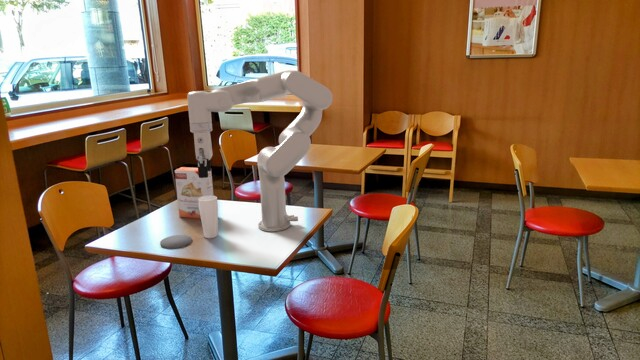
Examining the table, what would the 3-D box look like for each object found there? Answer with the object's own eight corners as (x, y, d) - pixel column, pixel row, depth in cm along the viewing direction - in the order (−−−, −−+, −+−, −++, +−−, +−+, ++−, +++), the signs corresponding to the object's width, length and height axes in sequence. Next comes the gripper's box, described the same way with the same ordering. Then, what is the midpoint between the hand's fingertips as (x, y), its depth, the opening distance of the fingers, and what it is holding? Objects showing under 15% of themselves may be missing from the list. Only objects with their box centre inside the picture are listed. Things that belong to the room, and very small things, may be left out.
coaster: (193, 235, 167) (193, 233, 167) (189, 247, 156) (189, 245, 156) (163, 238, 165) (163, 236, 165) (157, 249, 155) (157, 247, 155)
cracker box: (178, 217, 187) (173, 169, 182) (186, 213, 193) (181, 166, 187) (209, 219, 184) (204, 171, 178) (215, 215, 189) (211, 167, 184)
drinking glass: (223, 234, 168) (220, 196, 164) (212, 240, 162) (209, 201, 158) (209, 231, 171) (206, 194, 167) (197, 238, 165) (194, 199, 161)
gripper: (209, 130, 148) (213, 179, 152) (214, 123, 164) (217, 168, 169) (186, 131, 147) (191, 180, 151) (193, 124, 163) (197, 169, 168)
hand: (205, 174), depth 160 cm, fingers open, 9 cm apart
